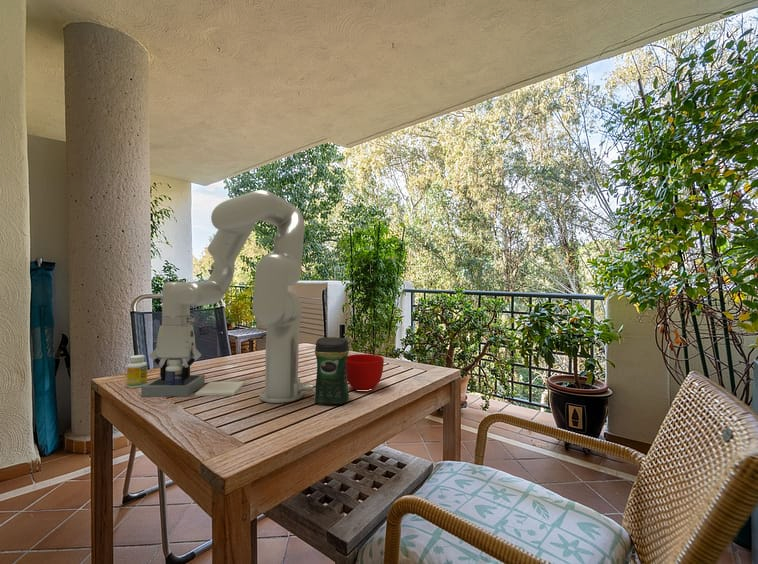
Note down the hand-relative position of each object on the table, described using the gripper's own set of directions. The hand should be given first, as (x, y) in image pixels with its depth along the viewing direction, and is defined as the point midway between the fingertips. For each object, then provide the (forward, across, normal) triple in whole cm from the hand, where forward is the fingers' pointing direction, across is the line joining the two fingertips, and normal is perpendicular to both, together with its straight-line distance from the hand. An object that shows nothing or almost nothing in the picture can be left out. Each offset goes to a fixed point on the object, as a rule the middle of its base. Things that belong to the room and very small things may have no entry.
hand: (175, 378), depth 112 cm
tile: (+3, -14, 0) cm, 14 cm away
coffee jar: (+4, -49, +13) cm, 51 cm away
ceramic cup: (+4, -59, -1) cm, 59 cm away
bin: (+3, 0, 0) cm, 3 cm away
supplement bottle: (+4, +14, -5) cm, 15 cm away
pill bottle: (+4, 0, 0) cm, 4 cm away
